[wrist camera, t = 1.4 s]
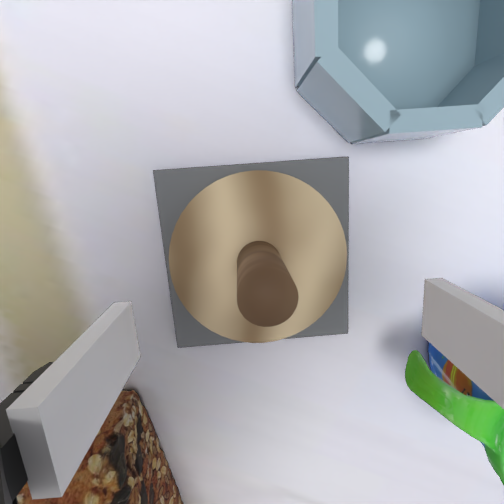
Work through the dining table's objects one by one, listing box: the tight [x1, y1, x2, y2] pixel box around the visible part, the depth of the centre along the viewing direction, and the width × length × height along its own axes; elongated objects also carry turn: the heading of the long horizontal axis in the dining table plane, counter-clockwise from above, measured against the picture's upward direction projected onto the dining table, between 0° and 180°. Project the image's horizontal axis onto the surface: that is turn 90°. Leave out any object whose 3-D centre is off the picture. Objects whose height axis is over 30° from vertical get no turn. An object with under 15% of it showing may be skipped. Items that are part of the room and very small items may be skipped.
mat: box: [153, 157, 349, 348], centre depth 25 cm, size 14×14×1 cm
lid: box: [169, 170, 347, 343], centre depth 20 cm, size 13×13×8 cm
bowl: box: [292, 0, 504, 144], centre depth 19 cm, size 13×13×6 cm
